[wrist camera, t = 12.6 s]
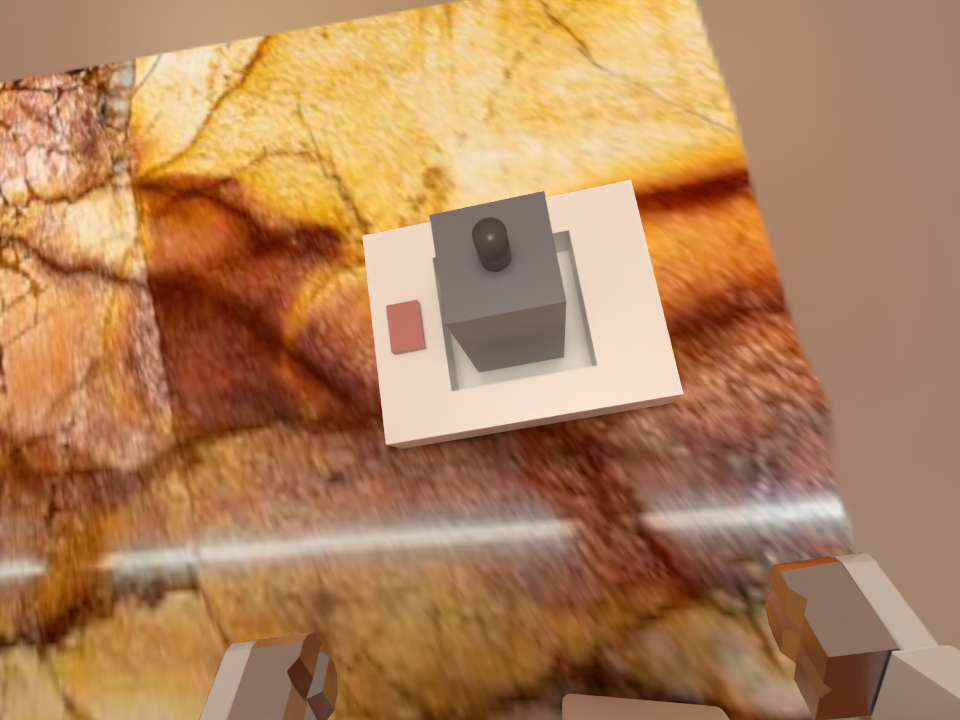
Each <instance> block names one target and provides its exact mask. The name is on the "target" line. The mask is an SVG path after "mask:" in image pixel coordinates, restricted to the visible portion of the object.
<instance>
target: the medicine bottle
mask: <svg viewBox="0 0 960 720" xmlns="http://www.w3.org/2000/svg"><path fill="white" fill-rule="evenodd" d="M562 720H730V719H729V718H728V717H727V715H726V714H725V713H724V711H723V710H722V709H721V708H719V707H716V706H706V705H695V704H684V703H673V702H661V701H650V700H639V699H627V698H616V697H605V696H593V695H582V694H571V693H570V694H566V695H565V696H564V697H563V701H562Z"/></svg>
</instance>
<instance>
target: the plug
mask: <svg viewBox="0 0 960 720" xmlns="http://www.w3.org/2000/svg"><path fill="white" fill-rule="evenodd" d="M430 221H431V228H432V235H433V242H434V249H435V256H436V263H437V270H438V277H439V283H440V290H441V297H442V304H443V311H444V318H445V324H446V326H447V327H448V329H449V330H450V332H451V333H452V335H453V336H454V337H455V339H456V340H457V342H458V343H459V345H460V346H461V348H462V349H463V350H464V352H465V353H466V355H467V356H468V358H469V359H470V360H471V362H472V363H473V365H474V366H475V368H476V369H477V371H478V372H484V371H489V370H495V369H501V368H506V367H512V366H517V365H523V364H528V363H534V362H539V361H545V360H550V359H556V358H562V357H564V346H565V322H566V297H565V292H564V287H563V282H562V277H561V272H560V268H559V263H558V258H557V253H556V248H555V243H554V238H553V233H552V228H551V223H550V218H549V213H548V208H547V203H546V198H545V193H544V191H543V192H538V193H533V194H528V195H524V196H519V197H514V198H509V199H504V200H500V201H495V202H490V203H485V204H481V205H476V206H471V207H466V208H462V209H457V210H452V211H447V212H442V213H438V214H433V215H430Z"/></svg>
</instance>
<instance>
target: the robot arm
mask: <svg viewBox="0 0 960 720" xmlns="http://www.w3.org/2000/svg"><path fill="white" fill-rule="evenodd" d="M768 580H769V582H770V584H771V586H772V588H773V589H772V590H771V591H770V592H769V593H768V594H767V595H766V612H767V617H768V622H769V626H770V628H771V631H772V634H773V636H774V639H775V641H776V643H777V645H778V647H779V649H780V651H781V653H783V654H784V655H786V656H787V657H788V658H790V659H791V660H792V661H794V662H795V663H796V668H795V675H794V680H795V682H796V684H797V686H798V688H799V690H800V692H801V694H802V696H803V698H804V700H805V702H806V704H807V706H808V708H809V710H810V712H811V714H812V716H813V718H814V720H830V719H841V718H852V717H863V716H872V717H871V719H872V720H960V650H958V649H957V648H955V647H953V646H952V645H950V644H945V645H939V644H938V643H937V642H936V640H935V639H934V638H933V636H932V635H931V634H930V632H929V631H928V630H927V628H926V627H925V626H924V624H923V623H922V622H921V620H920V619H919V618H918V616H917V615H916V614H915V612H914V611H913V610H912V609H911V607H910V606H909V604H908V603H907V602H906V601H905V599H904V598H903V597H902V595H901V594H900V593H899V591H898V590H897V589H896V587H895V586H894V585H893V583H892V582H891V581H890V579H889V578H888V577H887V576H886V574H885V573H884V572H883V570H882V569H881V567H880V566H879V565H878V564H877V562H876V561H875V560H874V558H873V557H871V556H870V555H868V554H867V553H862V552H859V553H853V554H847V555H841V556H835V557H830V556H828V557H822V558H816V559H810V560H804V561H798V562H791V563H785V564H779V565H773V566H772V567H771V568H770V569H769V572H768ZM320 646H321V641H320V640H319V638H318V637H317V635H316V634H315V633H314V632H312V633H305V634H297V635H290V636H282V637H275V638H268V639H257V640H250V641H244V642H237V643H232V644H231V646H230V647H229V648H228V650H227V651H226V652H225V654H224V656H223V659H222V662H221V664H220V667H219V669H218V672H217V675H216V677H215V680H214V682H213V685H212V688H211V690H210V693H209V695H208V698H207V701H206V703H205V706H204V708H203V711H202V714H201V716H200V719H199V720H327V719H328V718H329V717H330V715H331V714H332V713H333V711H334V709H335V703H336V697H337V673H336V669H335V665H334V663H333V661H332V659H331V658H330V656H328V655H326V654H324V653H322V652H320V651H319V650H320Z"/></svg>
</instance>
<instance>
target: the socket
mask: <svg viewBox="0 0 960 720" xmlns="http://www.w3.org/2000/svg"><path fill="white" fill-rule="evenodd" d="M546 203H547V208H548V213H549V218H550V223H551V228H552V233H553V238H554V243H555V248H556V253H557V258H558V263H559V268H560V272H561V277H562V282H563V287H564V292H565V297H566V322H565V346H564V357H562V358H556V359H550V360H545V361H539V362H534V363H528V364H523V365H517V366H512V367H506V368H501V369H495V370H489V371H484V372H478V371H477V369H476V368H475V366H474V365H473V363H472V362H471V360H470V359H469V358H468V356H467V355H466V353H465V352H464V350H463V349H462V348H461V346H460V345H459V343H458V342H457V340H456V339H455V337H454V336H453V335H452V333H451V332H450V330H449V329H448V327H447V326H446V324H445V318H444V311H443V304H442V297H441V290H440V283H439V277H438V270H437V263H436V256H435V249H434V242H433V235H432V228H431V222H427V223H422V224H417V225H412V226H407V227H403V228H398V229H393V230H388V231H383V232H379V233H374V234H369V235H364V236H363V245H364V254H365V262H366V271H367V280H368V289H369V298H370V307H371V316H372V325H373V333H374V342H375V351H376V360H377V369H378V378H379V387H380V396H381V405H382V413H383V422H384V431H385V440H386V445H389V446H393V447H397V448H401V449H405V448H411V447H417V446H423V445H428V444H434V443H440V442H446V441H452V440H458V439H464V438H470V437H476V436H482V435H487V434H493V433H499V432H505V431H511V430H517V429H523V428H529V427H535V426H541V425H547V424H552V423H558V422H564V421H570V420H576V419H582V418H588V417H594V416H600V415H606V414H611V413H617V412H623V411H629V410H635V409H641V408H647V407H653V406H659V405H665V404H670V403H672V402H673V401H674V400H676V399H677V398H678V397H680V396H681V395H682V394H683V391H682V387H681V383H680V379H679V375H678V371H677V367H676V362H675V358H674V354H673V350H672V346H671V342H670V338H669V334H668V330H667V326H666V322H665V317H664V313H663V309H662V305H661V301H660V297H659V293H658V289H657V285H656V281H655V276H654V272H653V268H652V264H651V260H650V256H649V252H648V248H647V244H646V240H645V235H644V231H643V227H642V223H641V219H640V215H639V211H638V207H637V203H636V199H635V195H634V190H633V186H632V182H631V180H628V181H623V182H618V183H613V184H609V185H604V186H599V187H594V188H590V189H585V190H580V191H575V192H570V193H566V194H561V195H556V196H551V197H546Z"/></svg>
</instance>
